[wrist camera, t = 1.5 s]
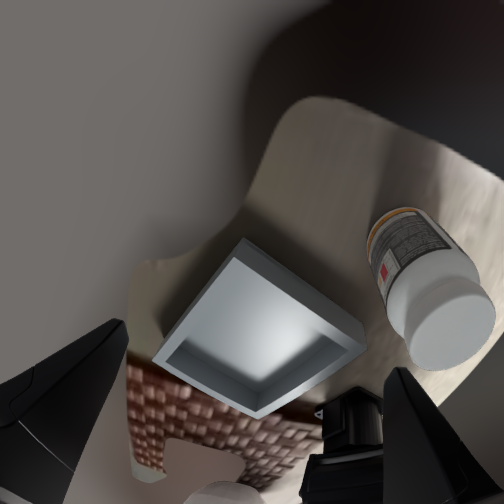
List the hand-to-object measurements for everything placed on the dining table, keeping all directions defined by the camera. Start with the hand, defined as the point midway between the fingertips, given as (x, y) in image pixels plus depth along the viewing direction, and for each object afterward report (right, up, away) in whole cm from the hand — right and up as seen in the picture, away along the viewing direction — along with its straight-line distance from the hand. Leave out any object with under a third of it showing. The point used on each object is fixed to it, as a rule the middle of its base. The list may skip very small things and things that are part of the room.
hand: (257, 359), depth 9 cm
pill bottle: (+11, +4, +11) cm, 15 cm away
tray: (0, -4, +16) cm, 17 cm away
